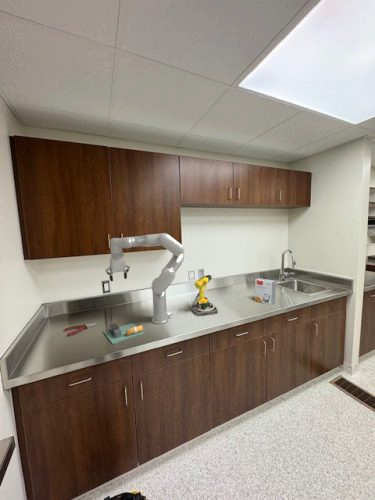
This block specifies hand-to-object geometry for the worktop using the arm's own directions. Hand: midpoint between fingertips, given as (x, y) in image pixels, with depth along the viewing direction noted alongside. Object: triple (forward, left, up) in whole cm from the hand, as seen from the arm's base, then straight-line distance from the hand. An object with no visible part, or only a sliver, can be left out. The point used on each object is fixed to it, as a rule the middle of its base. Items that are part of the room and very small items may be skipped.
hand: (118, 279), depth 148 cm
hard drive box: (-113, +40, -32) cm, 125 cm away
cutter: (+9, +13, -31) cm, 35 cm away
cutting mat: (+4, +15, -32) cm, 36 cm away
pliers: (+25, -8, -33) cm, 42 cm away
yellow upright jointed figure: (-61, +20, -32) cm, 72 cm away
